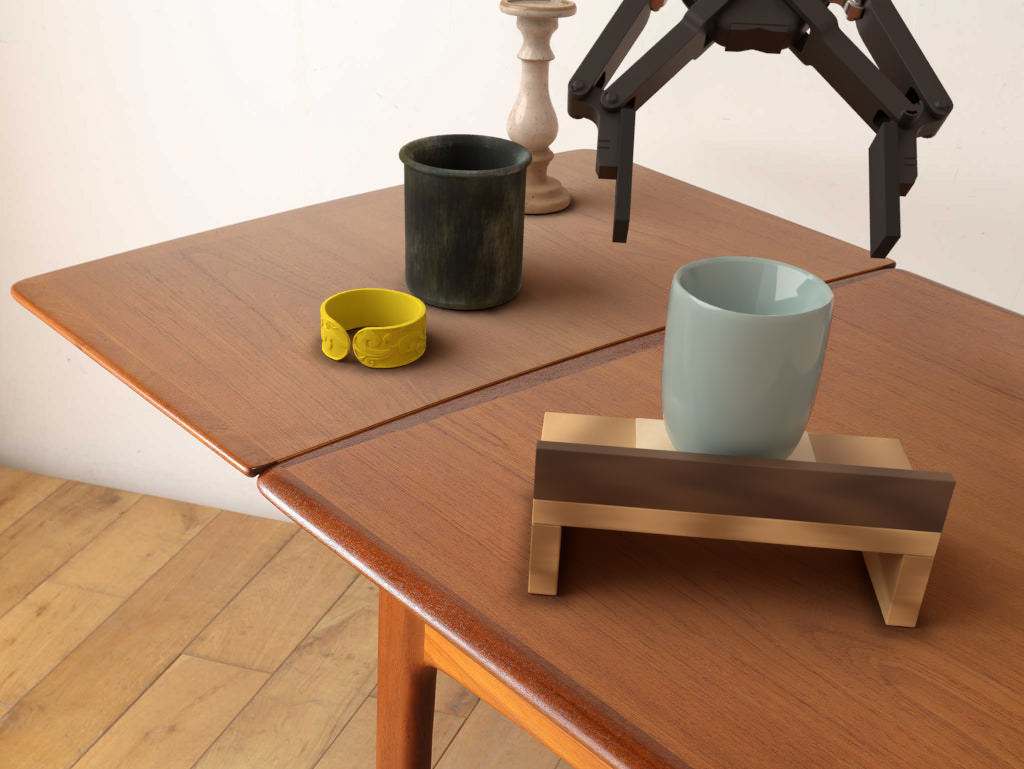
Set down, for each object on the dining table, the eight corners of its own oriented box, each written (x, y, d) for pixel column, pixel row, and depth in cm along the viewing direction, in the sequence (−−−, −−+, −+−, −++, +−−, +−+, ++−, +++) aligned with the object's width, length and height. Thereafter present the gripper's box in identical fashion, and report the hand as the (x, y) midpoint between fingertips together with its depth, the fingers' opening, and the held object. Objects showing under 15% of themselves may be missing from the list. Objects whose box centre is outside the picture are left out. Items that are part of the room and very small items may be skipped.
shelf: (877, 525, 62) (910, 391, 58) (915, 628, 54) (956, 481, 50) (539, 497, 63) (547, 364, 59) (527, 593, 55) (535, 448, 51)
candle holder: (540, 184, 118) (550, -7, 108) (586, 207, 111) (601, 6, 102) (472, 195, 113) (476, -3, 104) (516, 220, 107) (525, 10, 97)
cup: (627, 434, 58) (644, 265, 53) (745, 410, 61) (771, 247, 56) (703, 510, 52) (730, 327, 47) (831, 480, 55) (868, 304, 50)
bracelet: (348, 319, 85) (347, 281, 83) (441, 336, 83) (441, 297, 81) (304, 356, 78) (302, 316, 77) (403, 375, 76) (403, 334, 75)
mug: (398, 314, 86) (395, 170, 80) (403, 250, 98) (402, 122, 93) (531, 316, 86) (538, 173, 81) (519, 251, 99) (524, 124, 94)
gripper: (955, -43, 64) (970, 282, 57) (543, -61, 65) (515, 254, 59) (1006, -138, 56) (1029, 222, 50) (542, -156, 58) (509, 192, 52)
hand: (751, 240), depth 55 cm, fingers open, 13 cm apart
